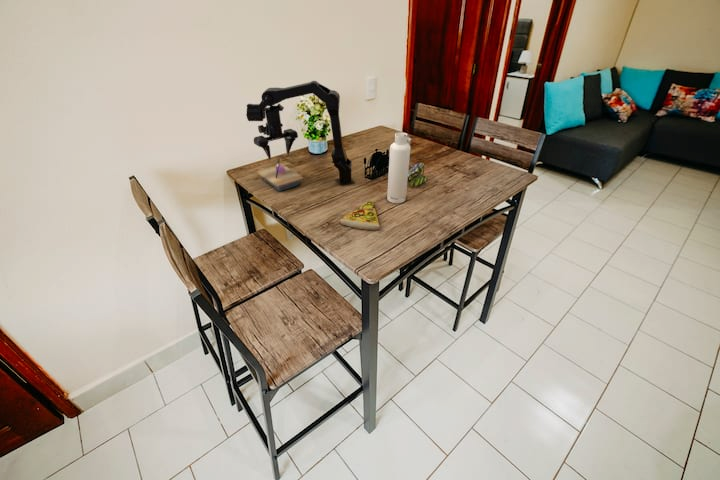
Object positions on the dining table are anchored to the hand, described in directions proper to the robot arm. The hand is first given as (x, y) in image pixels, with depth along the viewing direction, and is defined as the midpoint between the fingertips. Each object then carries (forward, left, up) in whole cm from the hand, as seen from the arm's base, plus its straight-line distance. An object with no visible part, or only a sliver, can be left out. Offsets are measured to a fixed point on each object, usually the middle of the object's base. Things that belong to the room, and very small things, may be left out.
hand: (278, 156), depth 151 cm
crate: (0, +1, -12) cm, 12 cm away
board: (0, +1, -9) cm, 9 cm away
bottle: (-36, -41, -13) cm, 56 cm away
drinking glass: (+3, -67, -13) cm, 68 cm away
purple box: (0, 0, -9) cm, 9 cm away
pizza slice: (-43, -23, -13) cm, 51 cm away
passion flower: (-26, -57, -13) cm, 64 cm away
